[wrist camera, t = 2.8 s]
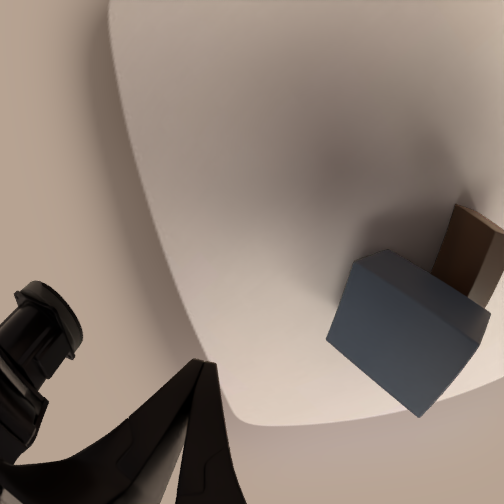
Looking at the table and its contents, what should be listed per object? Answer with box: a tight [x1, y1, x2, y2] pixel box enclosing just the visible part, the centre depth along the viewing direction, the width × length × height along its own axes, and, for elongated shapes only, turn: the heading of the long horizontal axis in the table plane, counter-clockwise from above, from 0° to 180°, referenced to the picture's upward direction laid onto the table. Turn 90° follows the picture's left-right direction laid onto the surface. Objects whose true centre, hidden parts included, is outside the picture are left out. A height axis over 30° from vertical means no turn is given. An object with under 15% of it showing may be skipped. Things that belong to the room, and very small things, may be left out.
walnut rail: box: [431, 204, 504, 309], centre depth 13 cm, size 2×12×4 cm, turn 173°
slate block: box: [326, 249, 491, 418], centre depth 12 cm, size 7×5×8 cm
